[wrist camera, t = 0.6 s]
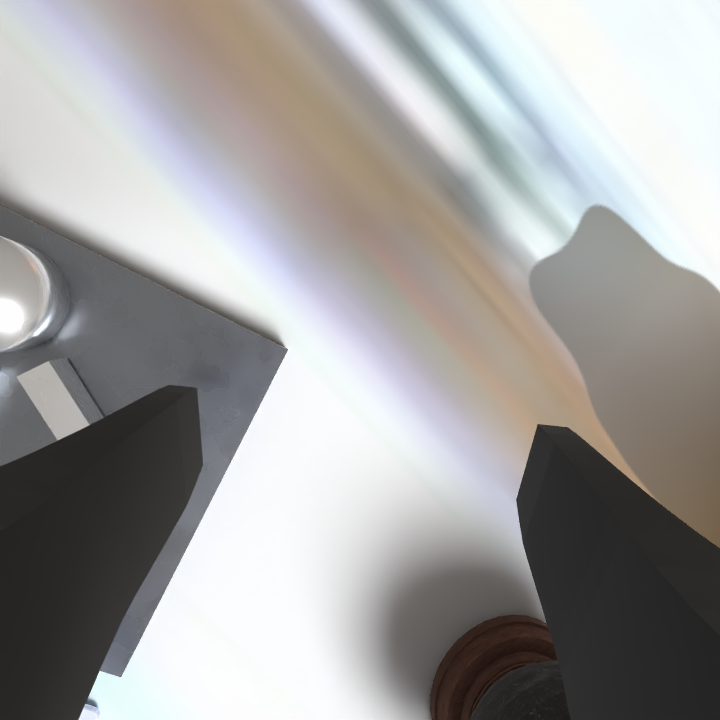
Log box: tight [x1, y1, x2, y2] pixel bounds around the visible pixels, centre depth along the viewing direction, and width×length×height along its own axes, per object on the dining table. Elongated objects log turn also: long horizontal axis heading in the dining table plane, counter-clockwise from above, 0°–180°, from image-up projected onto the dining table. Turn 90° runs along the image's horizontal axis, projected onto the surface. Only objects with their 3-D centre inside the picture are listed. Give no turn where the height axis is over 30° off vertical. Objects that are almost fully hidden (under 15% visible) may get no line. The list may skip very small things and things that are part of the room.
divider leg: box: [17, 357, 104, 440], centre depth 26 cm, size 11×2×3 cm, turn 27°
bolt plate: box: [0, 205, 288, 677], centre depth 26 cm, size 21×19×6 cm
